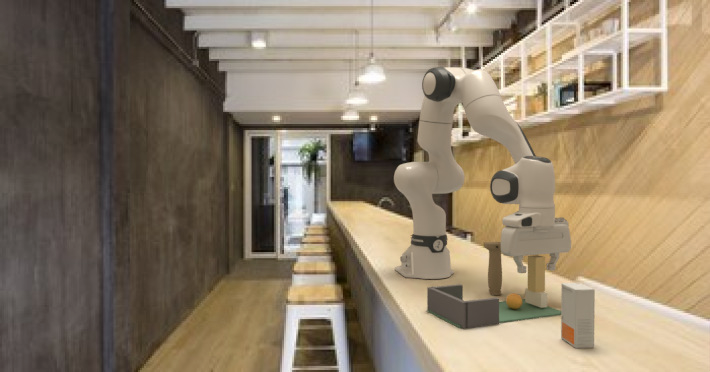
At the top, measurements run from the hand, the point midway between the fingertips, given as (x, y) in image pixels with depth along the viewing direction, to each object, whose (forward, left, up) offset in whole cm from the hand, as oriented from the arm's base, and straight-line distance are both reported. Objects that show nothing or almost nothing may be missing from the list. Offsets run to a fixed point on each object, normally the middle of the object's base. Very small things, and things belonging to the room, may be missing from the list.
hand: (536, 271), depth 132 cm
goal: (0, -22, -10) cm, 24 cm away
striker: (0, 0, -10) cm, 10 cm away
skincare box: (+25, -11, -10) cm, 29 cm away
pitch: (0, -13, -10) cm, 16 cm away
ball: (0, -7, -7) cm, 10 cm away
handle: (-16, -1, -10) cm, 19 cm away
